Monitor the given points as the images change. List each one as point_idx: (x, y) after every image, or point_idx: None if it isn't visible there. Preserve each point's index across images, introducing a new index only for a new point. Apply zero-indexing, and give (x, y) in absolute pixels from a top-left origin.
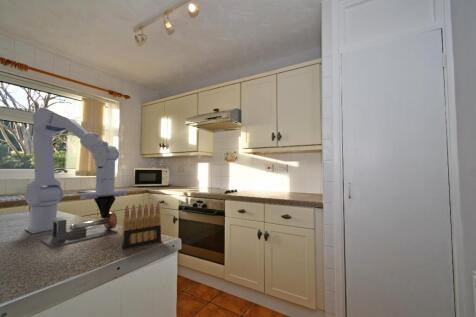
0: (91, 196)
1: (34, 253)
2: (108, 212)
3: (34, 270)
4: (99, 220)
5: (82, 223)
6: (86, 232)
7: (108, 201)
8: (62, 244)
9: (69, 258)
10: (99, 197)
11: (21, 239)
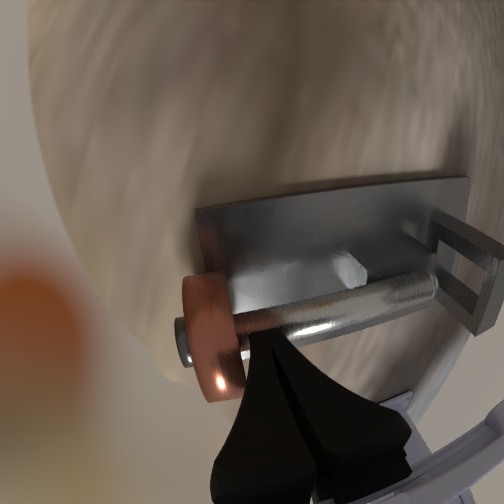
0: (457, 458)
1: (493, 158)
2: (255, 358)
3: (495, 14)
4: (301, 322)
5: (398, 296)
6: None
7: (302, 438)
8: (445, 177)
9: (447, 4)
10: (396, 473)
11: (447, 345)
